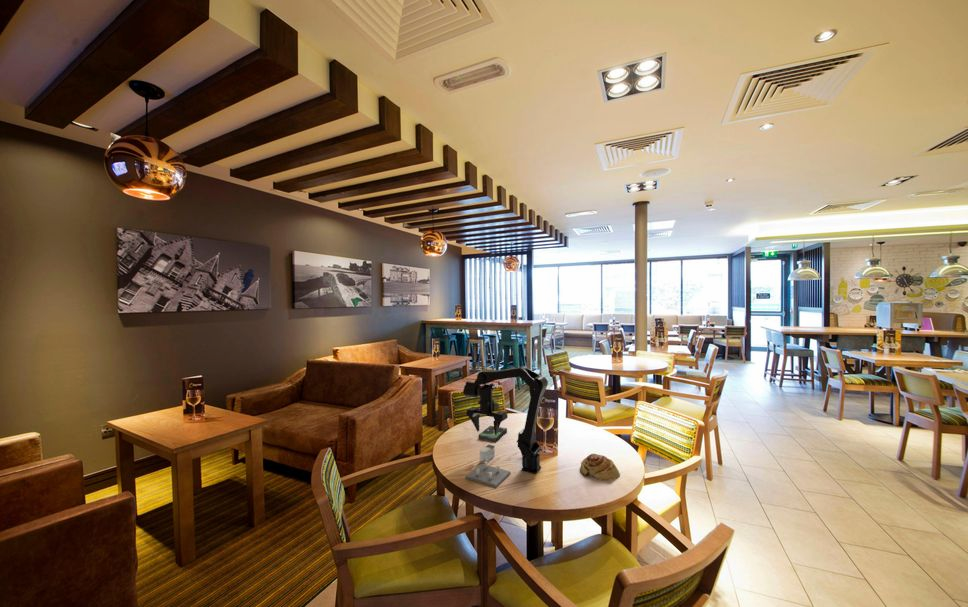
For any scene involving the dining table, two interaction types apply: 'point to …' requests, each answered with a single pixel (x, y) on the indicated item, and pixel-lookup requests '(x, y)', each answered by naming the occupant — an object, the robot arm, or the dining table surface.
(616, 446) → the dining table surface
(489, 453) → the block
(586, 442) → the dining table surface
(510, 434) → the dining table surface
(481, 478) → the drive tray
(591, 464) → the pastry
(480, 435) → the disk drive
